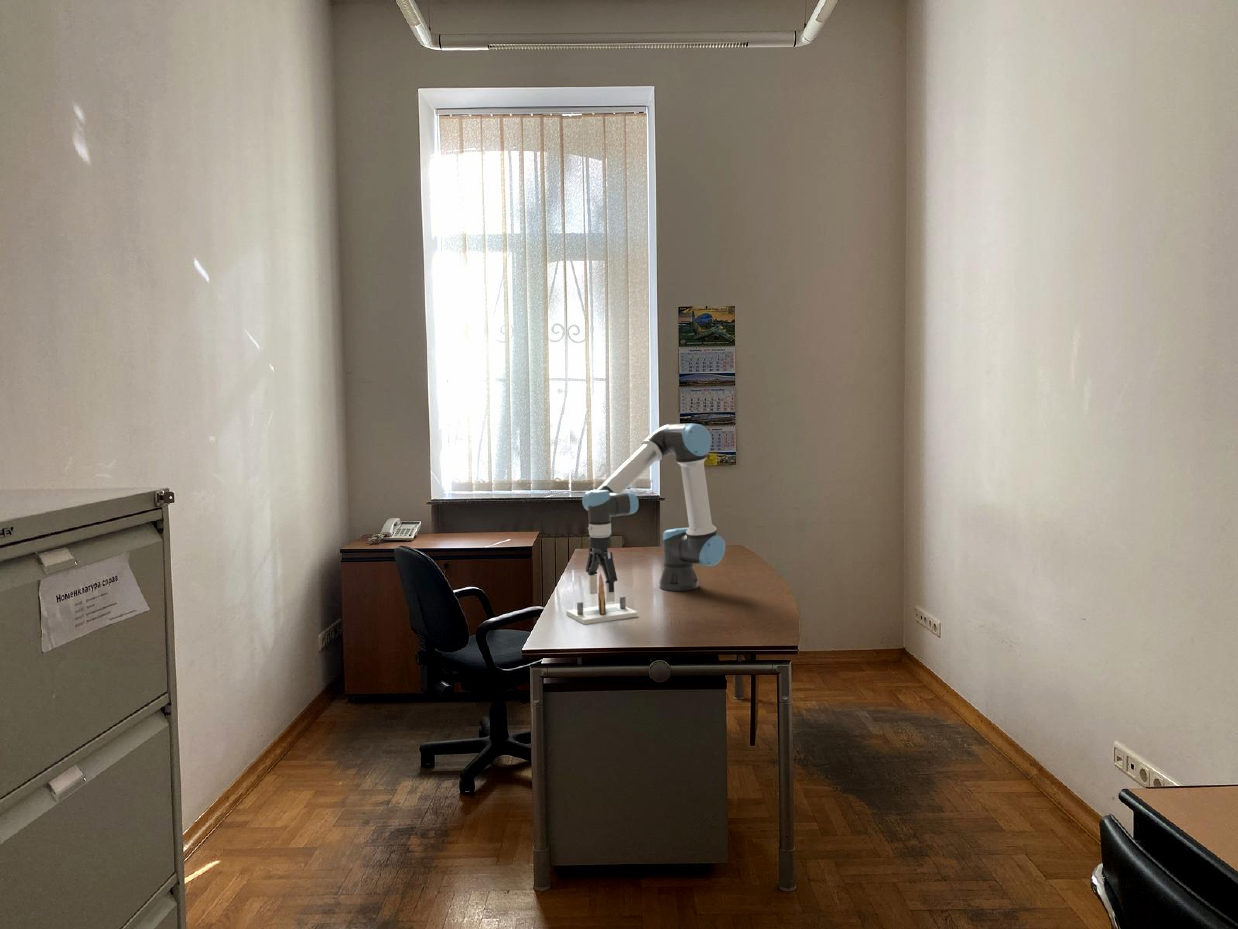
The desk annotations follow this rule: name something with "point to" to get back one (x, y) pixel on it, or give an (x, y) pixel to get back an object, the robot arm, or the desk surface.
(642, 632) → the desk surface
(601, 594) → the ammunition clip
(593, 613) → the board
